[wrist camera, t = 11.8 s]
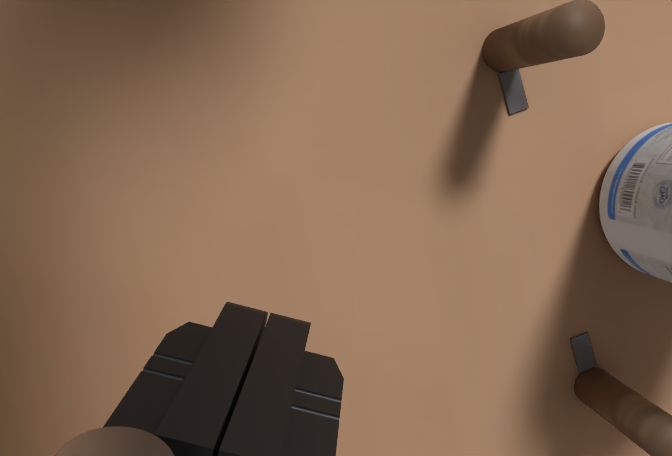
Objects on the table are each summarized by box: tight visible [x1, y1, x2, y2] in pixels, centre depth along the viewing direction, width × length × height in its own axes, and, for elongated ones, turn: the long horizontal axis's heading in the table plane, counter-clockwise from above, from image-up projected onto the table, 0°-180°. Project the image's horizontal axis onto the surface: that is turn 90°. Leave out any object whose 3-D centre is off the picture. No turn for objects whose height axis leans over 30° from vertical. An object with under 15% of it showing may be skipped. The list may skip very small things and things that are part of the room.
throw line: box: [483, 0, 672, 456], centre depth 33 cm, size 24×2×8 cm, turn 19°
